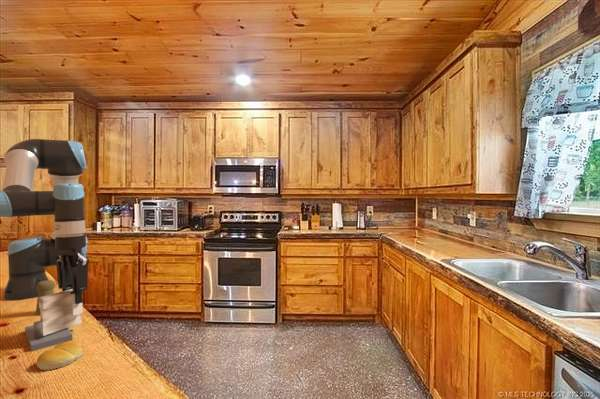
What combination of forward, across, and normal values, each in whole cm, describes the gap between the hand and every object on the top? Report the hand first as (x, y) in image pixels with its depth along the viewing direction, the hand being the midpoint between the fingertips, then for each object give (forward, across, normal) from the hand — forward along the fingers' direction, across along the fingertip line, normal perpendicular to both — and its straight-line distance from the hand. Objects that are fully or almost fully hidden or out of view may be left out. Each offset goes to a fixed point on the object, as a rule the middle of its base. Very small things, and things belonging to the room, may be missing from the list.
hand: (73, 313), depth 98 cm
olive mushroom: (+6, -26, +6) cm, 27 cm away
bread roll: (+6, +15, -12) cm, 20 cm away
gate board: (+5, -4, -5) cm, 8 cm away
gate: (+4, 0, -4) cm, 5 cm away
